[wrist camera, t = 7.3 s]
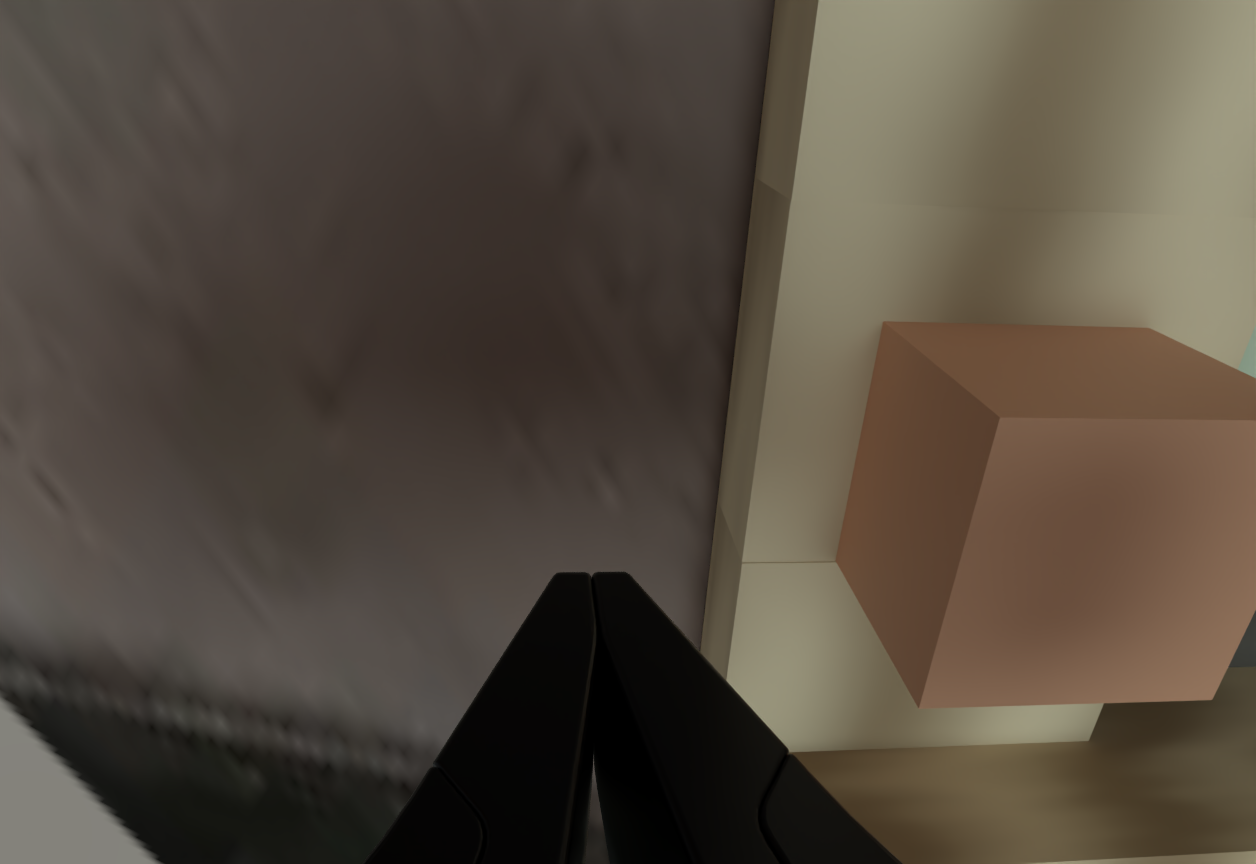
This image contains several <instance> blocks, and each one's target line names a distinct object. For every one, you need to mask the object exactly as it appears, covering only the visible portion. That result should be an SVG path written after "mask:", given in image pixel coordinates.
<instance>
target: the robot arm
mask: <svg viewBox="0 0 1256 864" xmlns="http://www.w3.org/2000/svg"><path fill="white" fill-rule="evenodd" d="M593 754H594V767H595V775H596V782H597V790H598V796H599V802H600V808H601V814H602V819H603V825H604V831H605V837H606V843H607V849H608V855H609V861H610V864H903V863H902V862H901V861H900V860H899V859H898V858H897V857H895V856H894V855H893V854H892V853H891V852H890V851H889V850H888V849H887V848H886V847H885V846H884V845H883V844H881V843H880V842H879V841H878V840H877V839H876V838H875V837H874V836H873V835H872V834H871V833H870V832H869V831H868V830H867V829H865V828H864V827H863V826H862V825H861V824H860V823H859V822H858V821H857V820H856V819H855V818H854V817H853V816H852V815H851V814H850V813H849V812H848V811H847V810H846V809H845V808H844V807H843V806H842V805H841V804H840V803H839V802H838V801H837V800H836V799H835V798H834V797H833V796H832V795H831V794H830V793H829V792H828V791H827V790H826V789H825V787H824V786H823V785H822V784H821V783H820V782H819V781H818V780H817V779H816V778H815V777H814V776H813V775H812V774H811V773H810V772H809V770H808V769H807V768H806V767H805V766H804V765H803V764H802V763H801V762H800V761H799V760H798V758H797V757H796V756H795V755H794V754H789V750H788V748H787V747H786V746H785V745H784V743H783V742H782V741H781V740H780V739H779V738H778V737H777V736H776V735H775V734H774V732H773V731H772V730H771V729H770V728H769V727H768V726H767V725H766V724H765V723H764V721H763V720H762V719H761V718H760V717H759V716H758V715H757V714H756V713H755V712H754V711H753V709H752V708H751V707H750V706H749V705H748V704H747V703H746V702H745V701H744V700H743V698H742V697H741V696H740V695H739V694H738V693H737V692H736V691H735V690H734V689H733V687H732V686H731V685H730V684H729V683H728V682H727V681H726V680H725V679H724V678H723V676H722V675H721V674H720V673H719V672H718V671H717V670H716V669H715V668H714V667H713V665H712V664H711V663H710V662H709V661H708V660H707V659H706V658H705V657H704V656H703V654H702V653H701V652H700V651H699V650H698V649H697V648H696V647H695V646H694V645H693V643H692V642H691V641H690V640H689V639H688V638H687V637H686V636H685V635H684V634H683V632H682V631H681V630H680V629H679V628H678V627H677V626H676V625H675V624H674V623H673V621H672V620H671V619H670V618H669V617H668V616H667V615H666V614H665V613H664V612H663V611H662V609H661V608H660V607H659V606H658V605H657V604H656V603H655V602H654V601H653V600H652V598H651V597H650V596H649V595H648V594H647V593H646V592H645V591H644V590H643V589H642V587H641V586H640V585H639V584H638V583H637V582H636V581H635V580H634V579H633V578H632V576H631V575H630V574H628V573H626V572H596V573H594V574H593V576H592V579H591V576H590V574H588V573H586V572H560V573H556V574H555V575H554V576H553V577H552V579H551V580H550V582H549V583H548V585H547V586H546V588H545V590H544V591H543V593H542V594H541V596H540V597H539V599H538V600H537V602H536V604H535V605H534V607H533V608H532V610H531V611H530V613H529V614H528V616H527V618H526V619H525V621H524V622H523V624H522V625H521V627H520V628H519V630H518V632H517V633H516V635H515V636H514V638H513V639H512V641H511V642H510V644H509V646H508V647H507V649H506V650H505V652H504V653H503V655H502V656H501V658H500V660H499V661H498V663H497V664H496V666H495V667H494V669H493V670H492V672H491V674H490V675H489V677H488V678H487V680H486V681H485V683H484V684H483V686H482V688H481V689H480V691H479V692H478V694H477V695H476V697H475V698H474V700H473V702H472V703H471V705H470V706H469V708H468V709H467V711H466V712H465V714H464V716H463V717H462V719H461V720H460V722H459V723H458V725H457V726H456V728H455V730H454V731H453V733H452V734H451V736H450V737H449V739H448V740H447V742H446V744H445V745H444V747H443V748H442V750H441V751H440V753H439V755H438V756H437V758H436V759H435V761H434V763H433V767H431V768H429V769H428V771H427V773H426V774H425V776H424V777H423V779H422V780H421V782H420V783H419V785H418V787H417V788H416V790H415V791H414V793H413V794H412V796H411V797H410V799H409V800H408V802H407V803H406V805H405V806H404V808H403V809H402V810H401V812H400V813H399V815H398V816H397V818H396V819H395V820H394V822H393V823H392V825H391V826H390V828H389V829H388V831H387V832H386V833H385V835H384V836H383V838H382V839H381V840H380V842H379V843H378V844H377V845H376V847H375V848H374V849H373V851H372V852H371V853H370V854H369V856H368V857H367V858H366V859H365V861H364V862H363V863H362V864H585V858H586V846H587V835H588V824H589V813H590V801H591V790H592V773H593Z"/></svg>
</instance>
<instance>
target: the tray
mask: <svg viewBox="0 0 1256 864" xmlns="http://www.w3.org/2000/svg"><path fill="white" fill-rule="evenodd" d="M883 321H893V322H934V323H974V324H1014V325H1055V326H1095V327H1136V328H1151V329H1153V330H1155V331H1157V332H1159V333H1161V334H1163V335H1165V336H1167V337H1170V338H1172V339H1174V340H1176V341H1178V342H1180V343H1182V344H1184V345H1186V346H1189V347H1191V348H1193V349H1195V350H1197V351H1199V352H1201V353H1203V354H1205V355H1208V356H1210V357H1212V358H1214V359H1216V360H1218V361H1220V362H1222V363H1225V364H1227V365H1229V366H1231V367H1233V368H1235V369H1237V370H1239V371H1241V372H1244V373H1246V374H1248V375H1250V376H1252V377H1254V378H1256V0H775V6H774V15H773V23H772V32H771V41H770V49H769V58H768V67H767V75H766V84H765V93H764V101H763V110H762V119H761V127H760V136H759V145H758V153H757V162H756V171H755V180H754V188H753V197H752V206H751V214H750V223H749V232H748V240H747V249H746V258H745V266H744V275H743V284H742V292H741V301H740V310H739V318H738V327H737V336H736V344H735V353H734V362H733V370H732V379H731V388H730V397H729V405H728V414H727V423H726V431H725V440H724V449H723V457H722V466H721V475H720V483H719V492H718V501H717V509H716V518H715V527H714V535H713V544H712V553H711V561H710V570H709V579H708V587H707V596H706V605H705V614H704V622H703V631H702V640H701V648H700V652H701V653H702V654H703V656H704V657H705V658H706V659H707V660H708V661H709V662H710V663H711V664H712V665H713V667H714V668H715V669H716V670H717V671H718V672H719V673H720V674H721V675H722V676H723V678H724V679H725V680H726V681H727V682H728V683H729V684H730V685H731V686H732V687H733V689H734V690H735V691H736V692H737V693H738V694H739V695H740V696H741V697H742V698H743V700H744V701H745V702H746V703H747V704H748V705H749V706H750V707H751V708H752V709H753V711H754V712H755V713H756V714H757V715H758V716H759V717H760V718H761V719H762V720H763V721H764V723H765V724H766V725H767V726H768V727H769V728H770V729H771V730H772V731H773V732H774V734H775V735H776V736H777V737H778V738H779V739H780V740H781V741H782V742H783V743H784V745H785V746H786V747H787V748H788V750H789V754H794V755H795V756H796V757H797V758H798V760H799V761H800V762H801V763H802V764H803V765H804V766H805V767H806V768H807V769H808V770H809V772H810V773H811V774H812V775H813V776H814V777H815V778H816V779H817V780H818V781H819V782H820V783H821V784H822V785H823V786H824V787H825V789H826V790H827V791H828V792H829V793H830V794H831V795H832V796H833V797H834V798H835V799H836V800H837V801H838V802H839V803H840V804H841V805H842V806H843V807H844V808H845V809H846V810H847V811H848V812H849V813H850V814H851V815H852V816H853V817H854V818H855V819H856V820H857V821H858V822H859V823H860V824H861V825H862V826H863V827H864V828H865V829H867V830H868V831H869V832H870V833H871V834H872V835H873V836H874V837H875V838H876V839H877V840H878V841H879V842H880V843H881V844H883V845H884V846H885V847H886V848H887V849H888V850H889V851H890V852H891V853H892V854H893V855H894V856H895V857H897V858H898V859H899V860H900V861H901V862H902V863H903V864H1256V611H1255V613H1254V615H1253V617H1252V619H1251V621H1250V623H1249V625H1248V627H1247V629H1246V631H1245V633H1244V635H1243V637H1242V639H1241V641H1240V644H1239V646H1238V648H1237V650H1236V652H1235V654H1234V656H1233V658H1232V660H1231V662H1230V664H1229V666H1228V668H1227V670H1226V672H1225V675H1224V677H1223V679H1222V681H1221V683H1220V685H1219V687H1218V689H1217V691H1216V693H1215V695H1214V697H1213V699H1212V700H1197V701H1163V702H1130V703H1097V704H1063V705H1030V706H996V707H963V708H929V709H919V708H918V707H917V705H916V703H915V701H914V700H913V698H912V696H911V694H910V692H909V691H908V689H907V687H906V685H905V684H904V682H903V680H902V678H901V676H900V675H899V673H898V671H897V669H896V668H895V666H894V664H893V662H892V660H891V659H890V657H889V655H888V653H887V652H886V650H885V648H884V646H883V644H882V643H881V641H880V639H879V637H878V636H877V634H876V632H875V630H874V628H873V627H872V625H871V623H870V621H869V620H868V618H867V616H866V614H865V612H864V611H863V609H862V607H861V605H860V604H859V602H858V600H857V598H856V596H855V595H854V593H853V591H852V589H851V588H850V586H849V584H848V582H847V580H846V579H845V577H844V575H843V573H842V572H841V570H840V568H839V566H838V564H837V563H836V561H835V560H836V555H837V550H838V545H839V540H840V535H841V530H842V525H843V520H844V515H845V510H846V505H847V500H848V495H849V490H850V485H851V480H852V475H853V470H854V465H855V460H856V455H857V450H858V445H859V440H860V435H861V430H862V425H863V420H864V415H865V410H866V405H867V400H868V395H869V390H870V385H871V380H872V375H873V370H874V365H875V360H876V355H877V350H878V345H879V340H880V335H881V330H882V325H883Z"/></svg>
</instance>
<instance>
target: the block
mask: <svg viewBox="0 0 1256 864" xmlns="http://www.w3.org/2000/svg"><path fill="white" fill-rule="evenodd" d="M835 561H836V563H837V564H838V566H839V568H840V570H841V572H842V573H843V575H844V577H845V579H846V580H847V582H848V584H849V586H850V588H851V589H852V591H853V593H854V595H855V596H856V598H857V600H858V602H859V604H860V605H861V607H862V609H863V611H864V612H865V614H866V616H867V618H868V620H869V621H870V623H871V625H872V627H873V628H874V630H875V632H876V634H877V636H878V637H879V639H880V641H881V643H882V644H883V646H884V648H885V650H886V652H887V653H888V655H889V657H890V659H891V660H892V662H893V664H894V666H895V668H896V669H897V671H898V673H899V675H900V676H901V678H902V680H903V682H904V684H905V685H906V687H907V689H908V691H909V692H910V694H911V696H912V698H913V700H914V701H915V703H916V705H917V707H918V708H919V709H929V708H963V707H996V706H1030V705H1063V704H1097V703H1130V702H1163V701H1197V700H1212V699H1213V697H1214V695H1215V693H1216V691H1217V689H1218V687H1219V685H1220V683H1221V681H1222V679H1223V677H1224V675H1225V672H1226V670H1227V668H1228V666H1229V664H1230V662H1231V660H1232V658H1233V656H1234V654H1235V652H1236V650H1237V648H1238V646H1239V644H1240V641H1241V639H1242V637H1243V635H1244V633H1245V631H1246V629H1247V627H1248V625H1249V623H1250V621H1251V619H1252V617H1253V615H1254V613H1255V611H1256V378H1254V377H1252V376H1250V375H1248V374H1246V373H1244V372H1241V371H1239V370H1237V369H1235V368H1233V367H1231V366H1229V365H1227V364H1225V363H1222V362H1220V361H1218V360H1216V359H1214V358H1212V357H1210V356H1208V355H1205V354H1203V353H1201V352H1199V351H1197V350H1195V349H1193V348H1191V347H1189V346H1186V345H1184V344H1182V343H1180V342H1178V341H1176V340H1174V339H1172V338H1170V337H1167V336H1165V335H1163V334H1161V333H1159V332H1157V331H1155V330H1153V329H1151V328H1136V327H1095V326H1055V325H1014V324H974V323H934V322H893V321H883V325H882V330H881V335H880V340H879V345H878V350H877V355H876V360H875V365H874V370H873V375H872V380H871V385H870V390H869V395H868V400H867V405H866V410H865V415H864V420H863V425H862V430H861V435H860V440H859V445H858V450H857V455H856V460H855V465H854V470H853V475H852V480H851V485H850V490H849V495H848V500H847V505H846V510H845V515H844V520H843V525H842V530H841V535H840V540H839V545H838V550H837V555H836V560H835Z"/></svg>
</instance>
